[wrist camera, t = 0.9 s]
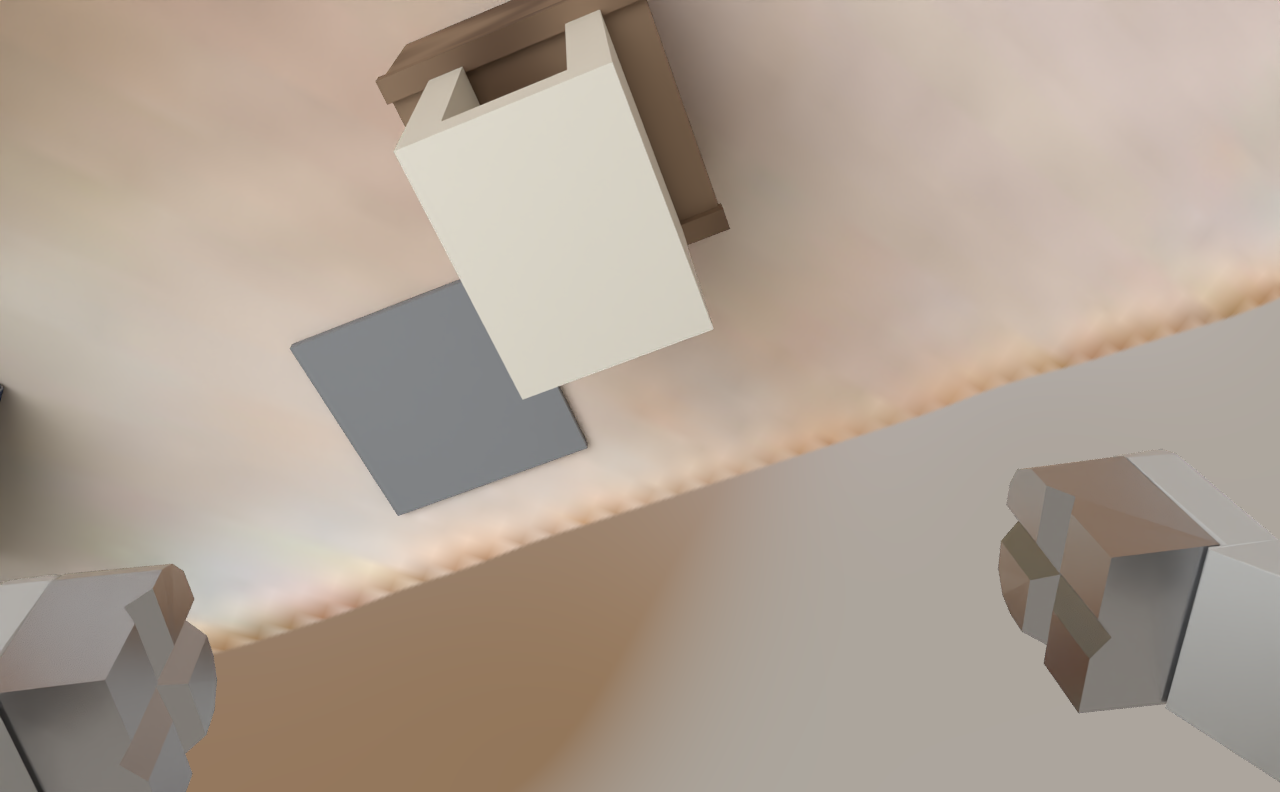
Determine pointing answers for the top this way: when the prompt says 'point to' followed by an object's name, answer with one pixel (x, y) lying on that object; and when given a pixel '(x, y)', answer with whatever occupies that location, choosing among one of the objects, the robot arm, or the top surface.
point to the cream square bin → (556, 216)
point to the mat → (433, 400)
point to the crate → (536, 49)
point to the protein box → (0, 390)
